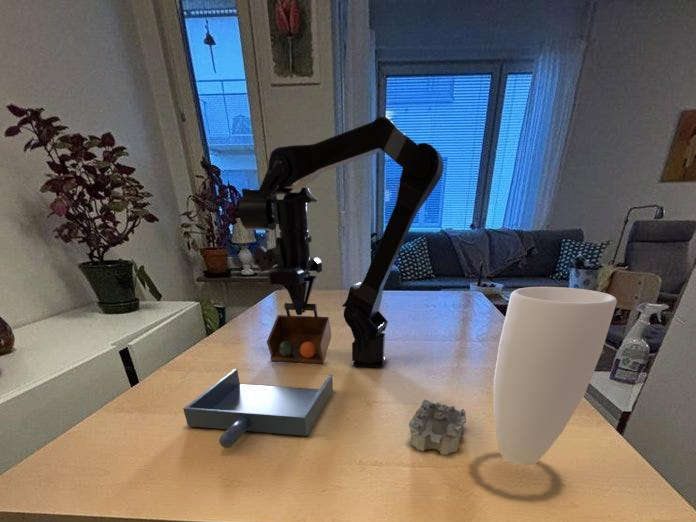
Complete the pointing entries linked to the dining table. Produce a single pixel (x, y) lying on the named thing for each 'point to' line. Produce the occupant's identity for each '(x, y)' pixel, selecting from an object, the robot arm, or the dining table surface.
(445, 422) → the grey castle model
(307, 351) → the terracotta ball
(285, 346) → the green ball
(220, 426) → the dustpan
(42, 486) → the dining table surface
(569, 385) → the cup
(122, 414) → the dining table surface
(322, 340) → the basket
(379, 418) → the dining table surface
